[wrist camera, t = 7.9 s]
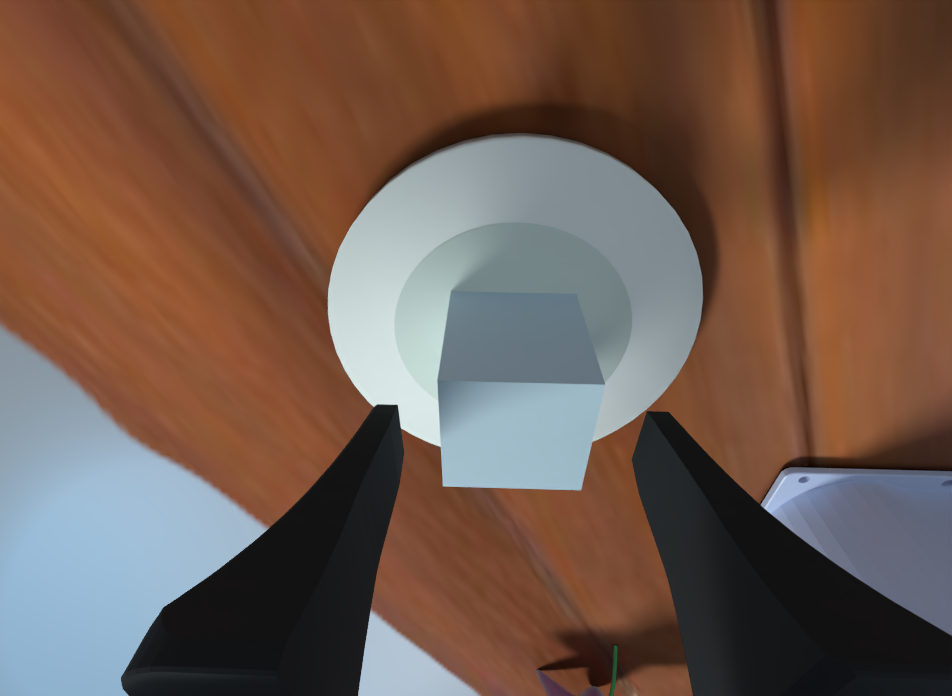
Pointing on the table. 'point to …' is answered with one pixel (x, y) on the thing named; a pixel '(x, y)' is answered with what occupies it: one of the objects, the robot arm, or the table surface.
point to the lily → (557, 692)
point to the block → (517, 391)
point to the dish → (514, 268)
